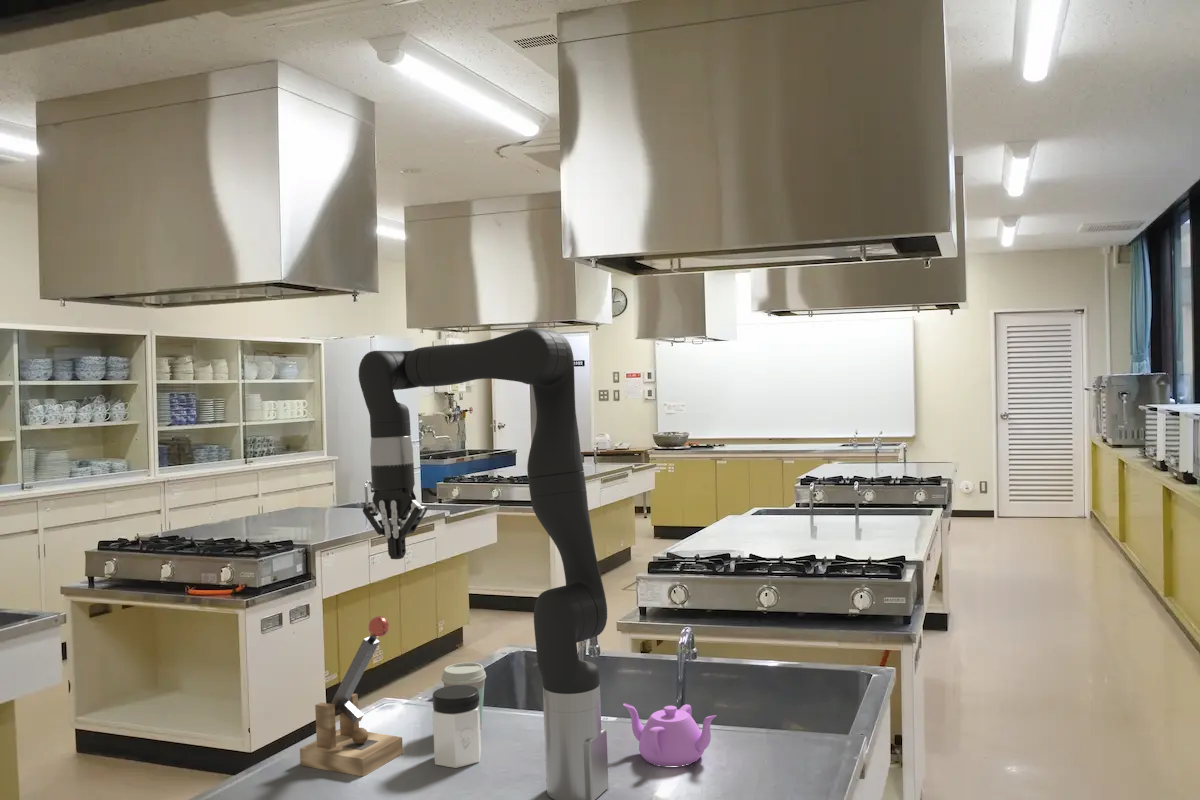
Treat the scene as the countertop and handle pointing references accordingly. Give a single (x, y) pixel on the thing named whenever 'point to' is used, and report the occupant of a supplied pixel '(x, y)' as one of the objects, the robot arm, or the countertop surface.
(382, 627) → the lever
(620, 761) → the countertop surface
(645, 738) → the teapot
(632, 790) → the countertop surface
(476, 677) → the coffee cup
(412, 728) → the countertop surface
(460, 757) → the jar
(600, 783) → the robot arm
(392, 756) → the cracker base
